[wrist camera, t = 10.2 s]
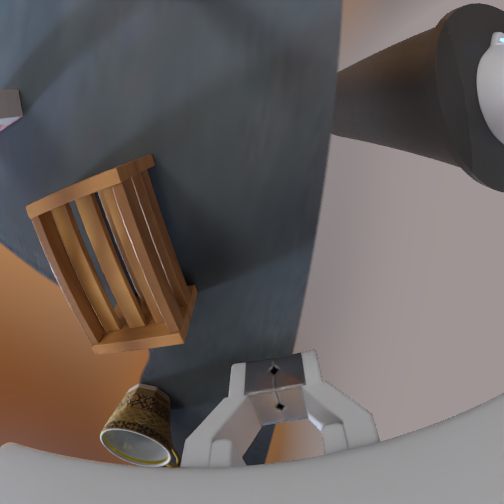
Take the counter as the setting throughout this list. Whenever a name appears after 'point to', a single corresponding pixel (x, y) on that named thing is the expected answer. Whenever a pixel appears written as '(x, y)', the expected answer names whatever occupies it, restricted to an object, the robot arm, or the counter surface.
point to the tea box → (9, 107)
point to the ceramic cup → (141, 428)
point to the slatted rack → (117, 260)
